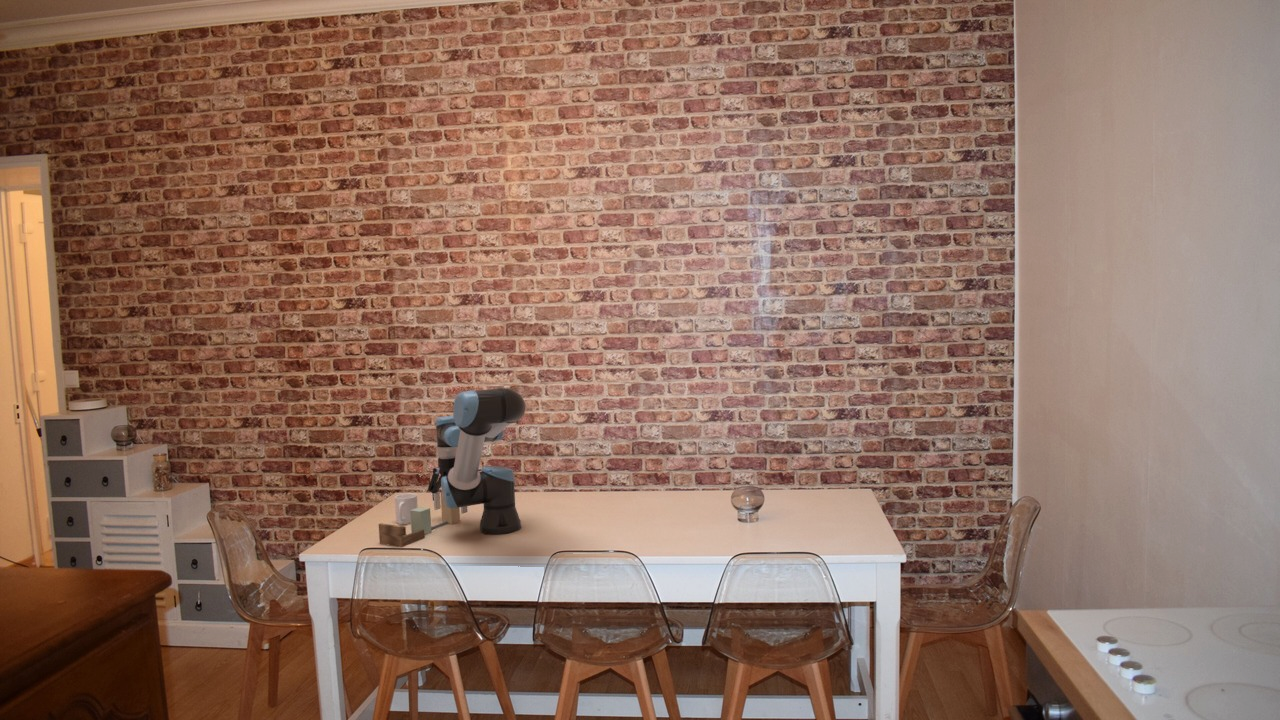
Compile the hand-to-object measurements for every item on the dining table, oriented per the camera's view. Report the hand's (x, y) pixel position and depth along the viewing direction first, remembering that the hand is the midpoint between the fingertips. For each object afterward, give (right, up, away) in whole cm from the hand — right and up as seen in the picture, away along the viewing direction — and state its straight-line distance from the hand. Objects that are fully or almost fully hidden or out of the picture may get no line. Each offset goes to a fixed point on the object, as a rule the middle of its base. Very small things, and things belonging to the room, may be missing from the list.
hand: (450, 511), depth 319 cm
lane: (-12, -7, -22) cm, 26 cm away
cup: (-18, -5, +1) cm, 18 cm away
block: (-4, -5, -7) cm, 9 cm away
